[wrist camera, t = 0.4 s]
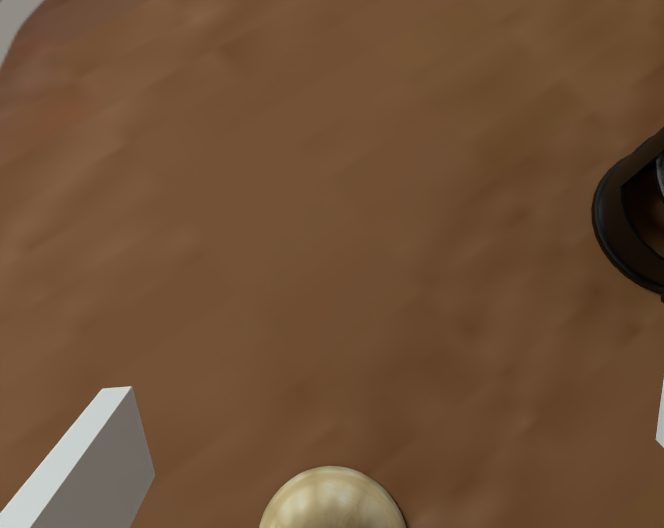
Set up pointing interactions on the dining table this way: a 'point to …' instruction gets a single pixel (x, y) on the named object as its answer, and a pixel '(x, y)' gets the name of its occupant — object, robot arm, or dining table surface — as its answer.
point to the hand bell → (332, 502)
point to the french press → (614, 219)
